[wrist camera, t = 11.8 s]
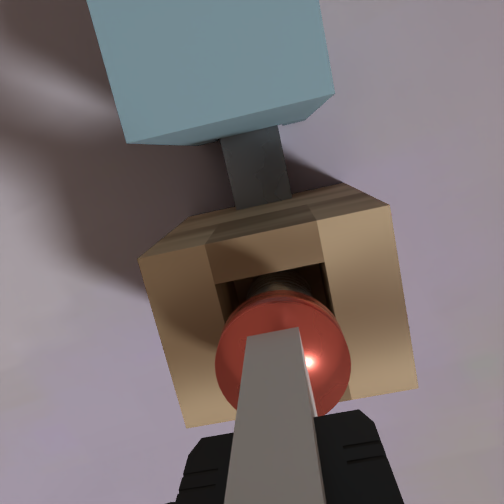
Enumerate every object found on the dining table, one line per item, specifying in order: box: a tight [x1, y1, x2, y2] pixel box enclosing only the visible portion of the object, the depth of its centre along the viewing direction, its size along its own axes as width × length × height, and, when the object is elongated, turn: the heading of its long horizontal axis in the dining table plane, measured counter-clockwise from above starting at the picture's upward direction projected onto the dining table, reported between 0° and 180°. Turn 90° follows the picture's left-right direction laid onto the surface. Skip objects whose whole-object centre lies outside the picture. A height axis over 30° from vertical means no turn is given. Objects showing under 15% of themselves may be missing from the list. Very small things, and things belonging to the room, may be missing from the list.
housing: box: [137, 183, 418, 428], centre depth 21 cm, size 7×9×10 cm
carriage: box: [87, 0, 335, 146], centre depth 17 cm, size 6×6×12 cm
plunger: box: [215, 269, 351, 416], centre depth 16 cm, size 4×4×6 cm
